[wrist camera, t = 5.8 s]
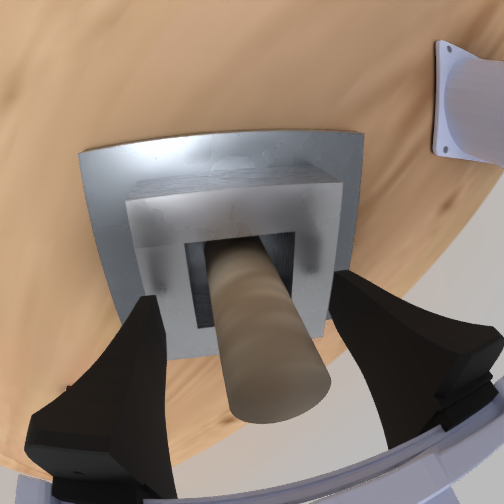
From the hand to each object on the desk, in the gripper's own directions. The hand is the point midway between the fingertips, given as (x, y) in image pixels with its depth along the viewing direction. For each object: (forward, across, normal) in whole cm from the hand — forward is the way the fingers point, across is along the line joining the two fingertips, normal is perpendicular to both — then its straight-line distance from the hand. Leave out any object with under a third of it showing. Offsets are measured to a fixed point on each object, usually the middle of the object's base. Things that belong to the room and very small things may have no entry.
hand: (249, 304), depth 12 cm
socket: (+5, 0, 0) cm, 5 cm away
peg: (+4, 0, 0) cm, 4 cm away
